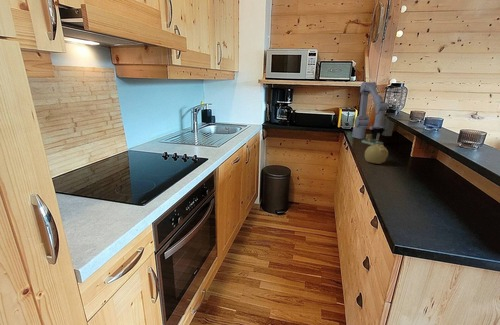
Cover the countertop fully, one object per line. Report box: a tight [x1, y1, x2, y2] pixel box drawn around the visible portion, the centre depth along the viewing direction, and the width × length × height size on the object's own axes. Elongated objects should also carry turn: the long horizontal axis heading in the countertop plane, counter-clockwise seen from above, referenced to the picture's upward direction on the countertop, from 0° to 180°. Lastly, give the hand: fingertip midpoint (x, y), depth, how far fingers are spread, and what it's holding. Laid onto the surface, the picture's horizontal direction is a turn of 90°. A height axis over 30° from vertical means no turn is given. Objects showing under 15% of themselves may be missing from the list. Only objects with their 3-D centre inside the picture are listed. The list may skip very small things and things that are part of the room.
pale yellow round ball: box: [364, 144, 389, 165], centre depth 147 cm, size 12×12×11 cm
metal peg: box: [373, 132, 380, 142], centre depth 189 cm, size 4×4×6 cm
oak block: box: [364, 133, 374, 143], centre depth 194 cm, size 4×4×6 cm
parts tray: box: [360, 139, 384, 146], centre depth 193 cm, size 12×9×2 cm
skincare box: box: [381, 115, 395, 137], centre depth 222 cm, size 8×7×16 cm
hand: (376, 138), depth 189 cm, fingers closed on metal peg, 4 cm apart
